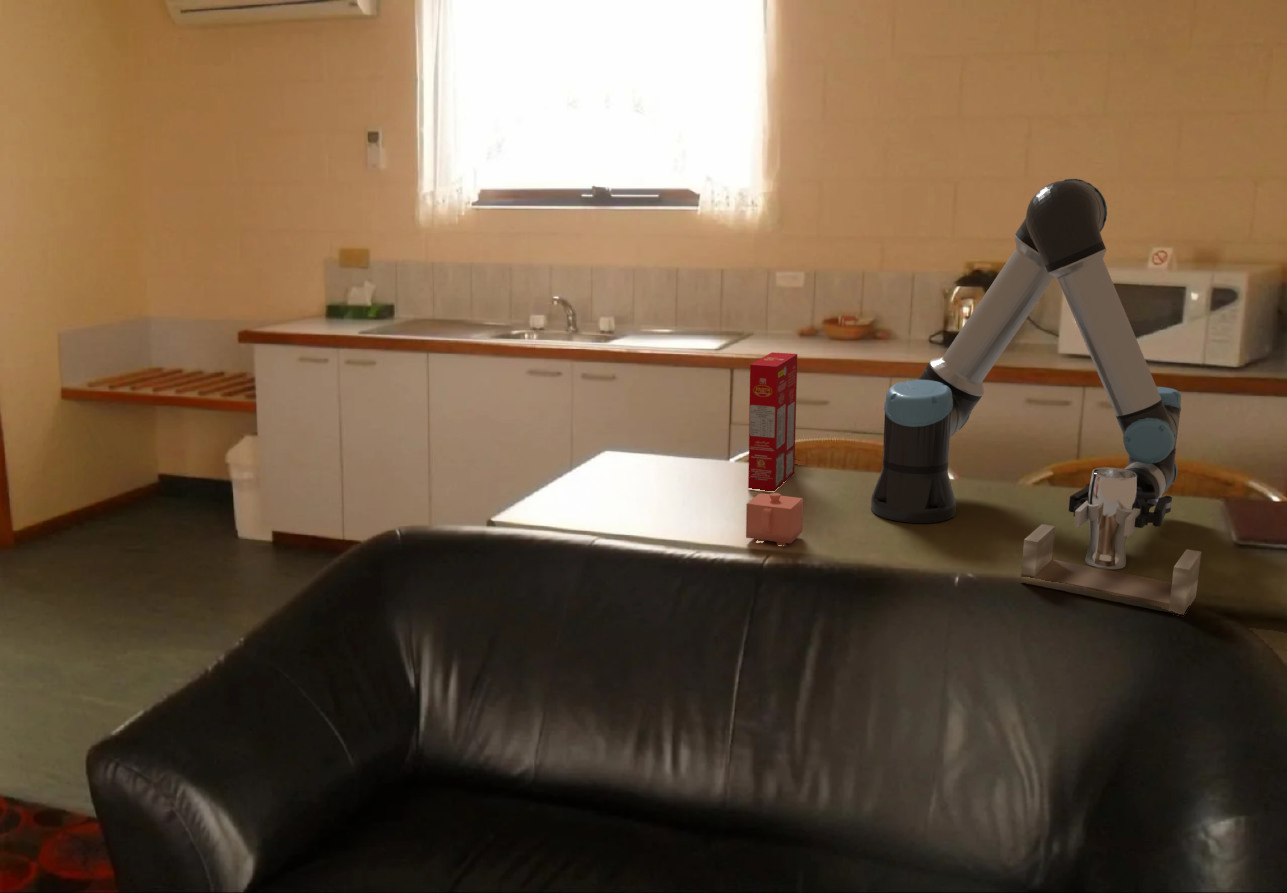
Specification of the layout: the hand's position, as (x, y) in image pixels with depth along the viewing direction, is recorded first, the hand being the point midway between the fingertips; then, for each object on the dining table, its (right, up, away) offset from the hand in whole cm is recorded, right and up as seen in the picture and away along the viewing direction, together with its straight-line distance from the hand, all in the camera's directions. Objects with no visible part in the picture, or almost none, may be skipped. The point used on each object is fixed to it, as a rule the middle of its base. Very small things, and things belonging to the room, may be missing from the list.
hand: (1101, 523), depth 175 cm
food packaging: (-45, +5, +53) cm, 70 cm away
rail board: (-1, -10, -5) cm, 11 cm away
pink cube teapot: (-48, -4, +19) cm, 52 cm away
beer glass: (+3, -7, +6) cm, 10 cm away
